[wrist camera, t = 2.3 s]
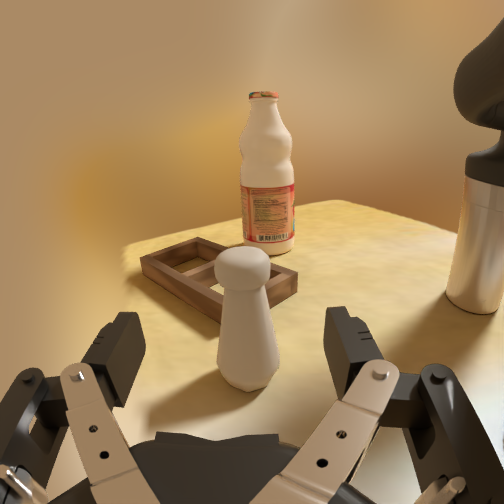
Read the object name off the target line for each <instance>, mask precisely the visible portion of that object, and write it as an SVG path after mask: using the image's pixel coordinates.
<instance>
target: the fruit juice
mask: <svg viewBox="0 0 504 504" xmlns="http://www.w3.org/2000/svg"><path fill="white" fill-rule="evenodd" d="M249 100H250V102H251V111H250V116H249V119H248V122H247V125H246V127H245V129H244V131H243V132H242V134H241V136H240V139H239V148H240V152H241V155H242V158H243V162H242V165H241V169H240V186H241V204H242V223H243V240H244V246H250V247H256V248H259V249H261V250H262V251H264V252H265V253H266V254H267V255H278V254H283V253H286V252H288V251H290V250H291V249H292V248H293V245H294V173H293V167H292V164H291V162H290V154H291V150H292V138H291V135H290V133H289V132H288V130H287V129H286V127H285V126H284V124H283V122H282V120H281V117H280V114H279V112H278V108H277V102H278V93H277V92H270V91H265V92H253V93H250V94H249Z"/></svg>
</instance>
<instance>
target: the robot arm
mask: <svg viewBox="0 0 504 504" xmlns="http://www.w3.org/2000/svg"><path fill="white" fill-rule="evenodd" d="M454 99H455V103H456V106H457V108H458V110H459V112H460V113H461V115H462V116H463V117H464V118H465V119H466V120H468V121H469V122H471V123H473V124H476V125H479V126H483V127H488V128H492V129H497V130H501V136H500V140H499V142H498V143H497V144H496V145H494V146H493V147H491V148H489V149H487V150H484V151H480V152H475V153H471V154H469V155H468V157H467V159H466V164H465V181H464V190H463V201H462V208H461V216H460V223H459V230H458V235H457V241H456V247H455V252H454V257H453V262H452V266H451V271H450V275H449V280H448V284H447V288H446V295H447V297H448V298H449V300H450V301H451V302H452V303H453V304H455V305H456V306H458V307H460V308H461V309H464V310H466V311H469V312H472V313H478V314H489V313H492V312H495V311H496V310H497V309H498V307H499V305H500V302H501V299H502V296H503V292H504V18H503V19H502V20H501V22H500V23H499V24H498V26H496V28H495V29H494V30H493V31H492V33H491V34H490V35H489V36H488V37H487V38H486V39H485V40H484V41H483V42H482V43H480V44H479V45H478V46H477V47H476V48H474V49H473V50H472V51H471V52H470V53H469V54H468V55H467V56H466V57H465V58H464V59H463V60H462V62H461V63H460V65H459V67H458V69H457V72H456V76H455V80H454ZM323 342H324V351H325V355H326V358H327V361H328V365H329V368H330V372H331V375H332V378H333V382H334V385H335V389H336V392H337V396H338V399H337V400H336V401H335V403H334V404H333V405H332V407H331V408H330V410H329V411H328V412H327V414H326V415H325V417H324V418H323V420H322V421H321V422H320V424H319V425H318V426H317V428H316V429H315V430H314V432H313V433H312V434H311V436H310V437H309V438H308V440H307V441H306V442H305V444H304V445H303V446H302V447H301V448H299V447H297V446H294V445H291V444H287V443H282V442H279V437H278V434H264V435H245V436H240V437H236V438H231V439H226V440H220V441H211V440H207V439H203V438H199V437H195V436H192V435H188V434H182V433H168V432H156V436H155V440H150V441H145V442H142V443H139V444H136V445H134V446H132V447H129V445H128V443H127V441H126V439H125V438H124V435H123V433H122V431H121V429H120V428H119V425H118V423H117V421H116V419H115V417H114V415H113V413H112V410H113V407H122V408H124V406H125V403H126V401H127V398H128V395H129V393H130V390H131V388H132V385H133V383H134V380H135V377H136V375H137V372H138V370H139V367H140V365H141V362H142V360H143V357H144V355H145V350H146V344H145V339H144V335H143V331H142V327H141V323H140V319H139V316H138V314H137V313H136V312H119V313H118V315H117V317H116V318H115V320H114V321H113V323H108V324H107V325H106V326H105V327H103V328H102V329H101V330H100V332H99V333H98V335H97V338H95V340H94V341H93V344H92V345H91V346H90V348H89V349H88V351H87V352H86V354H85V356H84V357H83V359H82V361H81V362H80V363H75V364H72V365H69V366H68V367H66V368H65V369H64V370H63V371H62V373H61V375H60V376H57V377H48V378H45V376H44V374H43V372H42V371H41V370H40V369H38V368H29V369H26V370H24V371H22V372H21V373H20V374H18V376H17V377H16V379H15V380H14V382H13V383H12V385H11V386H10V388H9V390H8V391H7V393H6V394H5V396H4V398H3V399H2V401H1V403H0V504H376V503H375V502H373V501H372V500H370V499H369V498H368V497H366V496H365V495H363V494H362V493H361V492H359V491H358V490H357V489H355V488H354V487H353V486H351V485H350V483H351V481H352V479H353V478H354V476H355V474H356V472H357V470H358V468H359V467H360V465H361V463H362V461H363V459H364V457H365V455H366V454H367V452H368V450H369V448H370V446H371V444H372V442H373V441H374V439H375V437H376V435H377V433H378V431H379V429H380V427H381V426H382V427H396V428H402V430H403V433H404V436H405V439H406V442H407V445H408V449H409V452H410V455H411V458H412V462H413V465H414V468H415V472H416V475H417V479H418V482H419V486H420V489H421V493H422V494H421V495H420V497H419V498H418V499H417V500H416V501H415V502H414V504H504V469H503V467H502V465H501V463H500V460H499V458H498V456H497V454H496V452H495V450H494V447H493V445H492V443H491V441H490V439H489V437H488V435H487V433H486V431H485V429H484V427H483V425H482V423H481V421H480V419H479V417H478V415H477V414H476V412H475V410H474V408H473V406H472V404H471V402H470V401H469V399H468V397H467V395H466V393H465V391H464V390H463V388H462V386H461V384H460V383H459V381H458V379H457V377H456V376H455V374H454V372H453V371H452V370H451V369H450V368H448V367H446V366H444V365H441V364H430V365H427V366H426V367H424V368H423V370H422V372H421V374H407V373H401V372H399V370H398V368H397V367H396V366H395V365H394V364H393V363H391V362H389V361H386V360H384V358H383V356H382V354H381V352H380V350H379V348H378V346H377V344H376V342H375V341H374V339H373V337H372V335H371V333H370V331H369V329H368V327H367V325H366V323H365V322H363V321H362V320H361V319H359V318H358V317H350V315H349V313H348V311H347V309H346V307H345V306H341V307H328V308H327V310H326V318H325V328H324V339H323ZM34 415H35V416H36V418H37V420H36V422H35V424H34V426H33V428H32V430H31V433H30V434H29V424H30V422H31V420H32V418H33V416H34ZM69 426H70V429H71V432H72V435H73V438H74V441H75V444H76V447H77V449H78V452H79V455H80V457H81V461H82V463H83V466H84V469H85V471H86V474H87V476H88V477H87V478H86V479H84V480H82V481H81V482H79V483H78V484H76V485H75V486H73V487H72V488H70V489H69V490H67V491H66V492H64V493H63V494H61V495H60V496H58V497H56V498H55V499H53V500H52V501H50V502H49V503H48V494H47V492H46V490H45V489H46V486H47V483H48V480H49V477H50V475H51V472H52V469H53V466H54V463H55V461H56V458H57V455H58V452H59V450H60V447H61V444H62V442H63V439H64V437H65V434H66V432H67V429H68V427H69Z"/></svg>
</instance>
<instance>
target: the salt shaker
mask: <svg viewBox="0 0 504 504" xmlns="http://www.w3.org/2000/svg"><path fill="white" fill-rule="evenodd" d="M214 271H215V277H216V279H217V281H218V282H219V284H220V286H222V287H224V297H223V308H222V319H221V327H220V336H219V345H218V353H217V365H218V367H219V369H220V372H221V374H222V376H223V377H224V378H225V379H226V380H227V381H228V382H229V384H230V385H231V386H233V387H236V388H238V389H241V390H243V391H246V392H251V391H254V390H258V389H261V388H264V387H266V386H267V385H268V383H269V381H270V379H271V378H272V376H273V375H274V373H275V372H276V371H277V369H278V368H279V362H280V354H279V349H278V344H277V340H276V335H275V331H274V326H273V322H272V317H271V313H270V308H269V304H268V299H267V295H266V290H265V286H264V285H265V284H266V283H267V282H268V281H269V278H270V259H269V256H268V255H267V254H266V253H265V252H264V251H262V250H261V249H259V248H256V247H250V246H240V247H233V248H230V249H226V250H225V251H223V252H221V253H220V254H219V255H218V256H217V258H216V260H215V266H214Z"/></svg>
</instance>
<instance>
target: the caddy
mask: <svg viewBox="0 0 504 504" xmlns="http://www.w3.org/2000/svg"><path fill="white" fill-rule="evenodd" d="M226 249H230V248H228V247H225V246H222V245H219V244H216V243H214V242H211V241H208V240H205V239H202V238H200V237H196V238H193V239H190V240H187V241H185V242H182V243H179V244H176V245H173V246H170V247H168V248H165V249H162V250H159V251H156V252H154V253H151V254H148V255H145V256H143V257H140V262H141V267H142V272H143V274H144V275H145V276H147V277H148V278H150V279H151V280H153V281H154V282H156V283H157V284H159V285H160V286H162V287H163V288H165V289H166V290H168V291H169V292H171V293H172V294H174V295H175V296H177V297H178V298H180V299H182V300H183V301H185V302H186V303H188V304H189V305H191V306H193V307H194V308H196V309H197V310H199V311H201V312H202V313H204V314H205V315H207V316H209V317H210V318H212V319H214V320H215V321H217V322H218V323H220V324H221V319H222V308H223V297H224V295H222V294H220V293H218V292H216V291H214V290H212V289H210V288H208V287H211V286H213V285H215V284H217V283H219V282H218V281H217V279H216V277H215V271H214V266H215V260H216V258H217V256H218V255H219V254H220V253H221V252H223V251H225V250H226ZM196 257H200V258H202V259H204V260H207V261H209V262H208V263H206V264H204V265H201V266H199V267H196V268H194V269H191V270H189V271H187V272H184V273H180V272H178V271H176V270H174V269H173V268H171V267H173V266H175V265H178V264H180V263H183V262H186V261H188V260H191V259H193V258H196ZM297 280H298V272H295V271H293V270H290V269H287V268H284V267H281V266H278V265H276V264H273V263H270V278H269V281H268V282H267V283H266V284H265V285H264V286H265V290H266V295H267V299H268V304H269V308H272V307H274V306H275V305H277V304H278V303H280V302H282V301H283V300H285V299H286V298H288V297H290V296H291V295H293V294H294V293H296V292H297Z"/></svg>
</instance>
